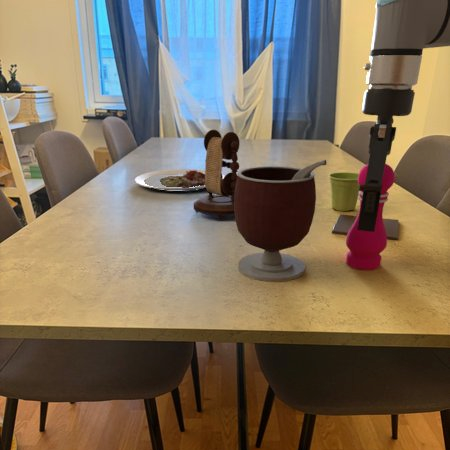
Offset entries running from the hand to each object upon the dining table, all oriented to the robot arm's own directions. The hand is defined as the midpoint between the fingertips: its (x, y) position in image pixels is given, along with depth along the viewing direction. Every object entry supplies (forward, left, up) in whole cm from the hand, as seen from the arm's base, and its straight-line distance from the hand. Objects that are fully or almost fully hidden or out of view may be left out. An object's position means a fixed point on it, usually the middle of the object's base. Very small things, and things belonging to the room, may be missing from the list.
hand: (368, 219), depth 77 cm
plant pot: (+8, -38, -9) cm, 40 cm away
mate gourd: (+15, +8, -9) cm, 19 cm away
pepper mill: (0, 0, -9) cm, 9 cm away
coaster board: (+1, -23, -9) cm, 25 cm away
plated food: (+62, -51, -9) cm, 81 cm away
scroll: (+37, -23, -9) cm, 44 cm away
